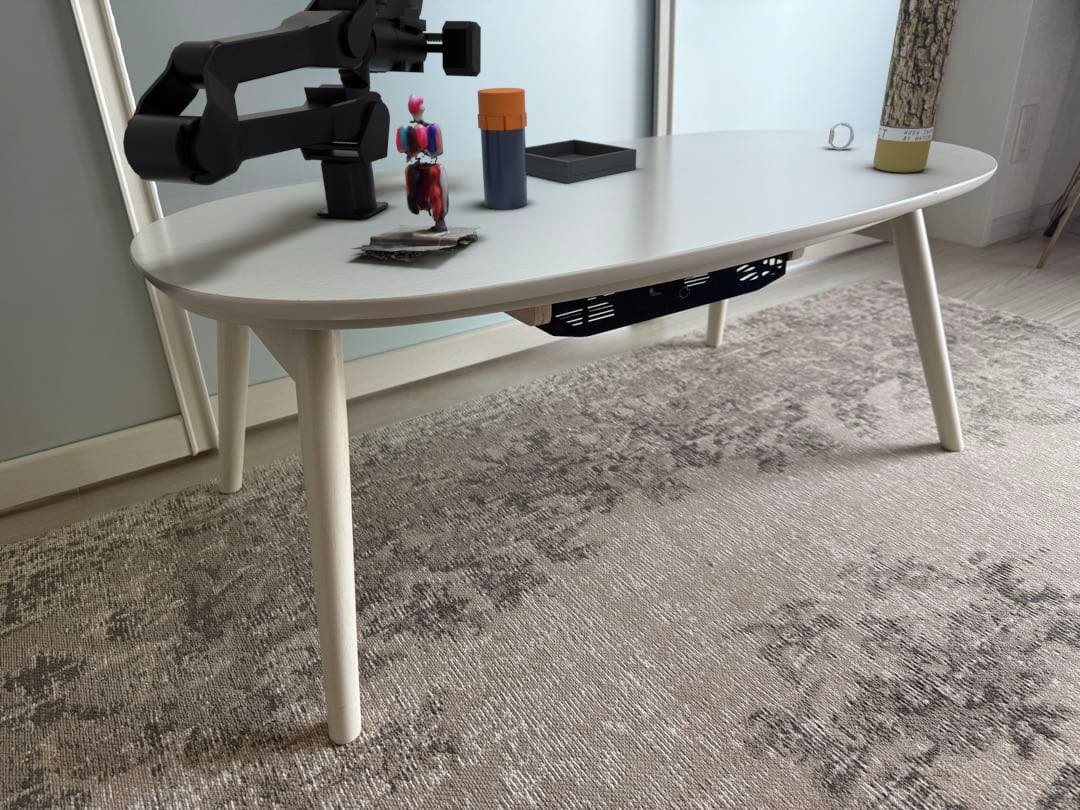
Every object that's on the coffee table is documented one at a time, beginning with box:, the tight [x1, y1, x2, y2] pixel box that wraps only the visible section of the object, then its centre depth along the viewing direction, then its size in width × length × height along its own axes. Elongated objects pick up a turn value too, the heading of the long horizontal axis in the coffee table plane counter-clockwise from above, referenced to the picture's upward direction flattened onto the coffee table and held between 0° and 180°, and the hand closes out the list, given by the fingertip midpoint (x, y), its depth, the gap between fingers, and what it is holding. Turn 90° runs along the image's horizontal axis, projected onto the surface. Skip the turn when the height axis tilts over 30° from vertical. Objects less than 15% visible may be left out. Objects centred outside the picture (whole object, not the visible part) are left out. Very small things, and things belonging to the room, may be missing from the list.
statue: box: [348, 94, 481, 263], centre depth 76 cm, size 11×9×15 cm
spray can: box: [480, 127, 528, 210], centre depth 93 cm, size 5×5×10 cm
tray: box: [526, 139, 637, 184], centre depth 113 cm, size 13×13×3 cm
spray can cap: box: [477, 87, 528, 130], centre depth 90 cm, size 5×5×4 cm
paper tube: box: [873, 0, 960, 174], centre depth 102 cm, size 7×7×25 cm
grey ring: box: [828, 121, 855, 151], centre depth 122 cm, size 4×2×4 cm, turn 70°
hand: (445, 51), depth 106 cm, fingers open, 9 cm apart
